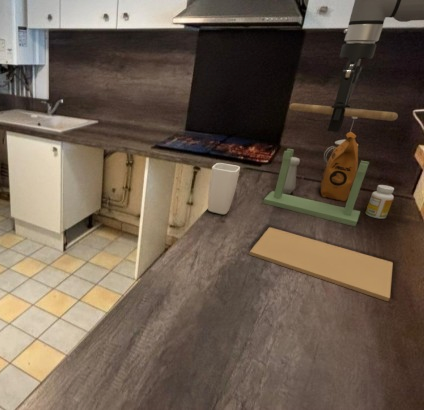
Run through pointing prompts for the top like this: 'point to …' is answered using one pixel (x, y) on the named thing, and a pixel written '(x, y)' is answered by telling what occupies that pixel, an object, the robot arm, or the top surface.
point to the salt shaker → (291, 176)
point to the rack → (315, 207)
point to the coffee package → (341, 170)
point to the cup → (222, 187)
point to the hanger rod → (348, 112)
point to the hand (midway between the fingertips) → (333, 130)
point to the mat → (326, 262)
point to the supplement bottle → (380, 202)
